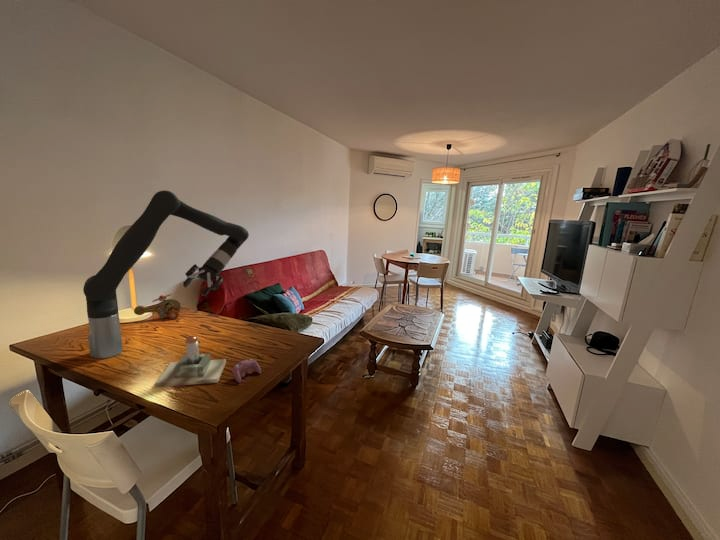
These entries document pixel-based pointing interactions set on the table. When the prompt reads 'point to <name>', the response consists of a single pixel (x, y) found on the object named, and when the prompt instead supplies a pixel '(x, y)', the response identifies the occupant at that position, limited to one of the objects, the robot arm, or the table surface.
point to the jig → (192, 372)
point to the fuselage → (192, 350)
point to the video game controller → (239, 367)
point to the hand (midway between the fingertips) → (193, 290)
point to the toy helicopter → (162, 308)
